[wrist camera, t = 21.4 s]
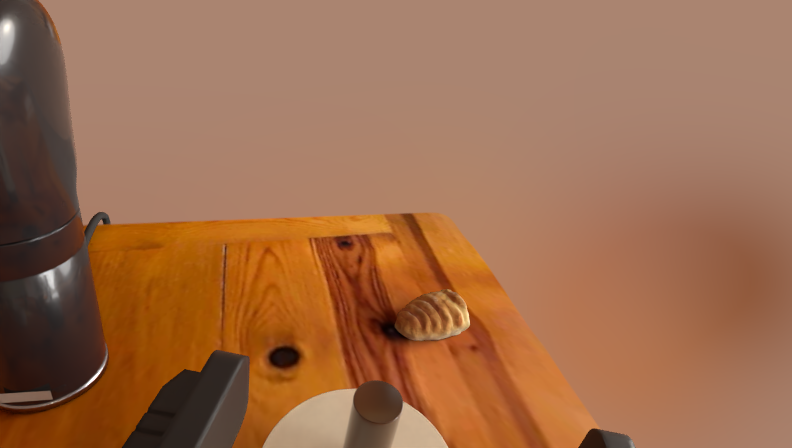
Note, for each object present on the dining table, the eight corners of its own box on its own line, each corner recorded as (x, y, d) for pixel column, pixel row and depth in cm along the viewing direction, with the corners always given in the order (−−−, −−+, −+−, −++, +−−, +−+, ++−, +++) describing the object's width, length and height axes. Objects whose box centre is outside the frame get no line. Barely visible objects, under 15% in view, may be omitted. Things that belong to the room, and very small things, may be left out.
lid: (240, 419, 34) (241, 334, 29) (408, 382, 39) (430, 307, 35) (272, 652, 23) (282, 573, 19) (495, 555, 29) (541, 479, 25)
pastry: (413, 355, 53) (420, 331, 51) (382, 318, 57) (387, 295, 55) (471, 331, 58) (479, 308, 56) (438, 299, 63) (444, 277, 61)
